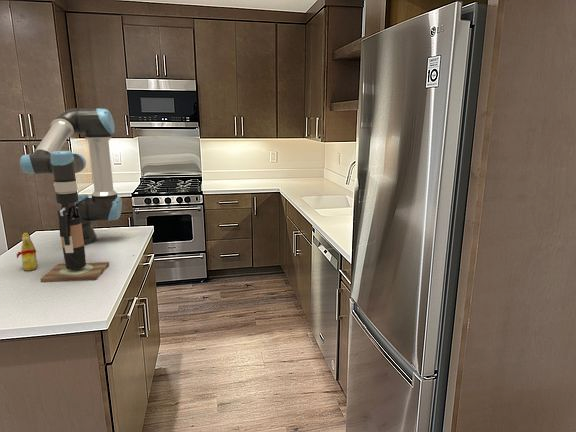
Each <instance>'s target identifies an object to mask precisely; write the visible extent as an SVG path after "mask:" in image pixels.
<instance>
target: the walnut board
mask: <svg viewBox="0 0 576 432" xmlns="http://www.w3.org/2000/svg"><path fill="white" fill-rule="evenodd" d="M109 266H110V262H109V261H104V262H103V261H100V262H99V261H98V262H86V266H85V267H82V268H79V269H67V268H66V265H65V263H58V264H57V265H55V266H54V267H53V268H52V269H51V270H49V271H47V273H45V274H44V275H43V276H42V277H40V283H53V282H54V283H55V282H56V283H57V282H58V283H59V282H76V281H80V282H82V281H96V280H98V279H99V277H101V275H102V274H103V273H104V272H105V271H106V270H107V268H108V267H109Z"/></svg>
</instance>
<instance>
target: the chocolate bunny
mask: <svg viewBox="0 0 576 432" xmlns="http://www.w3.org/2000/svg"><path fill="white" fill-rule="evenodd" d="M21 241H22V245H21V251H17V253H16V258H19V257H20V256H21V261H22V266H23V267H22V268H23V270H24V271H26V272H27V271H28V272H31V271H34V270H36V267H37V264H38V261H37V260H38V259H37V249H36V248H35V247H36V246H35V245H34V242H33V241H32V240H31V236H30V235H29V233H28V232H24V233H23V234H22V237H21Z"/></svg>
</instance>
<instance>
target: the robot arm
mask: <svg viewBox="0 0 576 432" xmlns="http://www.w3.org/2000/svg"><path fill="white" fill-rule="evenodd" d="M115 128H116V126H115V121H114V118H113V115H112V113H111V111H109V110H108V109H107V108H76V107H75V108H70V109H67V110H65V111H63V112H60V113H59V114H58V115H56V116H55V118H53V119H52V122H51V123H50V129H48V132H47V133H46V134H45V136H44V137H43V138H42V140H41V141H40V143H39V144H38V145H37V147H36V148H35V150H34V152H32V154H29V153H28V154H24V155H22V156H21V157H20V159H19V166H20V169H21V171H22V173H24V174H26V175H42V174H43V175H46V174H52V177H53V184H52V185H53V187H54V192H55V199H56V200H55V201H56V203H57V204H59V205H61V207H60V209H61V210H57V215H58V225H59V226H58V227H59V237H60V238H61V237H63V238H64V246H65V253H73V252H74V251H73V243H72V236H70V229H71V228H70V219H72V218H77V216H80V217H81V224H82V231H83V239H84V246H85V245H90V244H93V243H95V242H96V241H98V237H97V236H98V235H97V234H96V232H95V230H94V228H93V225H92V222H96V221H97V222H102V221H107V222H109V221H110V222H111V221H118V219H119V218H120V217H121V214H122V212H123V211H122V208H123V201H122V197H120V196H118V193H117V191H116V190H114V181H113V172H112V164H111V163H112V162H111V161H112V160H111V154H110V143H109V142H110V140H111V139H112V135H113V134H115V132H116V130H115ZM73 135H84V139H86V140H87V141H88V144H89V154H90V162H91V170H92V171H91V172H92V180H93V190H94V191H93V192H92V193H91V197H89V195H88V194H79V193H78V182H77V176H76V175H77V174H78V173H80V172H82V171H83V170H84V169H85V168H86V166H87V160H86V159H85V157H84V156H83V155H81V154H79V153H73V152H72V151H70V150H62V148H63V146H64V145H65V143H66V141H67V140H68V138H71V137H72V136H73ZM67 220H69V221H67Z"/></svg>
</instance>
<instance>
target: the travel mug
mask: <svg viewBox="0 0 576 432" xmlns="http://www.w3.org/2000/svg"><path fill="white" fill-rule="evenodd" d="M67 221H69V220H67ZM70 228H71V229H70V236H72V243H73V251H74V252H73V253H65V246H64V238H63V237H60V239H61V247H62V252H63V258H64V264H65V265H66V268H67V269H79V268H82V267H85V266H86V263H87V261H86V250H85V248H86V247H85V245H84V239H83V231H82V224H81V217H80V216H77V218H72V219H70Z"/></svg>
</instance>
